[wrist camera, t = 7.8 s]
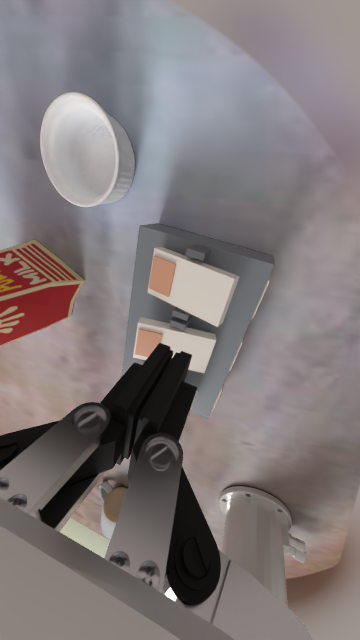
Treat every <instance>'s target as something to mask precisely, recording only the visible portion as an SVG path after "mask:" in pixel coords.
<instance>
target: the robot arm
mask: <svg viewBox="0 0 360 640" xmlns="http://www.w3.org/2000/svg"><path fill="white" fill-rule="evenodd" d="M172 356H173V351H172V350H170V346H167V345H165V344H162V343H159V344H158V345H157V346H156V348H155V349H154V350H153V352H152V353H151V354H150V356H149V357H148V358H147V360H146V361H145V362H144V363H143V365H141V364H138V363H136V362H135V363H133V364H132V365H131V367H130V368H129V369H128V370H127V371H126V373H125V374H124V375H123V376H122V377H121V379H120V380H119V381H118V382H117V383H116V385H115V386H114V387H113V388H112V389H111V391H110V392H109V393H108V394H107V395H106V397H105V398H104V399H103V400H102V401H101V403H97V402H88V403H84V404H81V405H79V406H78V407H76V408H75V409H73V410H72V411H71V412H70V413H69V414H67V415H66V416H65V417H64V418H63V419H61V420H60V421H56V422H52V423H48V424H44V425H40V426H36V427H32V428H28V429H24V430H20V431H16V432H12V433H8V434H5V435H2V436H0V640H312V638H311V636H310V634H309V632H308V630H307V628H306V627H305V625H304V624H303V623H302V621H301V620H300V619H299V618H298V617H297V615H296V614H295V613H293V612H292V611H291V610H290V609H289V608H288V606H287V591H286V576H285V561H284V556H285V555H286V554H288V555H289V556H291V557H292V558H294V559H296V560H298V561H300V562H302V563H305V561H306V551H305V543H304V542H303V541H301V540H299V539H297V538H294V537H292V536H291V534H290V533H289V530H290V528H291V525H292V521H291V515H290V512H289V510H288V509H287V507H286V506H285V505H284V504H283V503H282V502H281V501H279V500H278V499H277V498H275V497H274V496H272V495H270V494H268V493H266V492H264V491H261V490H258V489H255V488H251V487H245V486H235V487H230V488H227V489H225V490H224V491H223V492H222V493H221V494H220V498H219V507H220V509H221V511H222V513H223V514H224V515H225V516H226V519H225V527H224V536H223V545H222V552H221V551H220V550H219V549H218V547H217V544H216V542H215V540H214V537H213V535H212V533H211V531H210V528H209V526H208V524H207V522H206V519H205V517H204V515H203V513H202V510H201V508H200V506H199V504H198V501H197V499H196V497H195V495H194V492H193V490H192V488H191V486H190V483H189V481H188V479H187V477H186V474H185V472H184V470H183V468H182V462H183V450H182V447H181V445H180V443H179V439H180V436H181V433H182V431H183V428H184V425H185V422H186V419H187V417H188V414H189V411H190V408H191V405H192V402H193V399H194V397H195V394H196V391H197V388H198V387H196V386H193V385H191V384H188V383H186V382H185V378H186V375H187V372H188V368H189V365H190V361H191V358H192V355H191V354H189V353H186V352H183V351H181V352H180V353H177V352H176V353H175V355H174V357H173V358H172ZM130 455H131V459H130V465H129V471H128V479H129V482H130V483H129V486H128V489H127V492H126V495H125V498H124V501H123V504H122V507H121V510H120V513H119V516H118V519H117V522H116V525H115V528H114V531H113V534H112V537H111V540H110V543H109V546H108V549H107V552H106V555H105V558H102V557H100V556H99V555H97V554H95V553H93V552H92V551H90V550H89V549H87V548H85V547H84V546H82V545H80V544H79V543H77V542H75V541H73V540H72V539H70V538H68V537H67V536H65V535H63V534H62V533H60V530H61V529H62V528H63V526H64V525H65V524H66V522H67V521H68V520H69V519H70V517H71V516H72V515H73V513H74V512H75V511H76V510H77V508H78V507H79V506H80V504H81V503H82V502H83V501H84V499H85V498H86V497H87V495H88V494H89V493H90V492H91V490H92V489H93V488H94V486H95V485H96V484H97V483H98V481H99V480H100V479H101V477H102V476H103V474H104V472H105V471H107V470H110V469H112V468H113V467H114V466H115V464H116V463H117V464H119V465H120V464H121V462H122V461H123V459H124V458H126V459H128V458H129V457H130Z"/></svg>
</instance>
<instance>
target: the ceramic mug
mask: <svg viewBox="0 0 360 640" xmlns="http://www.w3.org/2000/svg"><path fill="white" fill-rule="evenodd" d="M99 490H100V494H101V497H102V499H103V502H104V503H103V507H102V515H101V529H102V531H103V533H104V535H105V536H106V537H107V538H109V539H111V537H112V534H113V531H114V528H115V525H116V522H117V519H118V516H119V513H120V510H121V507H122V504H123V501H124V498H125V495H126V492H127V488H125V487H117V488H115V489H113V488H112V487H111V485H110V484H109V483H108V482H107V481H105V482H103V483H102V484H101V485H100V486H99Z"/></svg>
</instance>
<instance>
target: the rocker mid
mask: <svg viewBox="0 0 360 640" xmlns="http://www.w3.org/2000/svg"><path fill="white" fill-rule="evenodd" d="M169 324H170V323H166V322H161V321H157V320H152V319H148V318H144V317H140V319H139V321H138V325H137V332H136V339H135V346H134V353H133V358H138V359H142V360H147V358H148V357H149V356H150V354H151V353H152V352H153V350H154V349H155V348H156V346H157V345H158V344H159V343H162V344H165V345H167V346H170V350H172V351H173V356H172V358H173V357H174V355H175V353H176V352H177V353H180V352H181V351H183V352H186V353H189V354H191V355H192V358H191V361H190V365H189V368H188V370H192V371H196V372H201V373H205V370H206V367H207V365H208V362H209V359H210V356H211V354H212V351H213V348H214V345H215V343H216V334H213V333H209V332H205V331H200V330H196V329H192V328H187V327H186V329H185V330H182V329H179V328H176V327H173V326H171V325H169Z"/></svg>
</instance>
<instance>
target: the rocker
mask: <svg viewBox="0 0 360 640" xmlns="http://www.w3.org/2000/svg"><path fill="white" fill-rule="evenodd" d="M239 277H240V276H237V275H235V274H232V273H229V272H227V271H224V270H221V269H219V268H216V267H213V266H211V265H208V264H206V263H203V262H200V261H198V260H195V259H192V258H190V257H187V256H184V255H182V254H179V253H177V252H174V251H171V250H169V249H166V248H163V247H158V248H154V254H153V260H152V267H151V273H150V279H149V286H148V292H147V293H149V294H151V295H153V296H155V297H157V298H159V299H161V300H163V301H166V302H168V303H170V304H172V305H174V306H176V307H178V308H180V309H182V310H184V311H186V312H188V313H190V314H192V315H194V316H196V317H198V318H200V319H202V320H204V321H206V322H208V323H210V324H212V325H214V326H216V327H218V326H220V325H221V324H222V323H223V321H224V318H225V315H226V312H227V310H228V307H229V304H230V301H231V299H232V296H233V293H234V290H235V288H236V285H237V282H238V279H239Z"/></svg>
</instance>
